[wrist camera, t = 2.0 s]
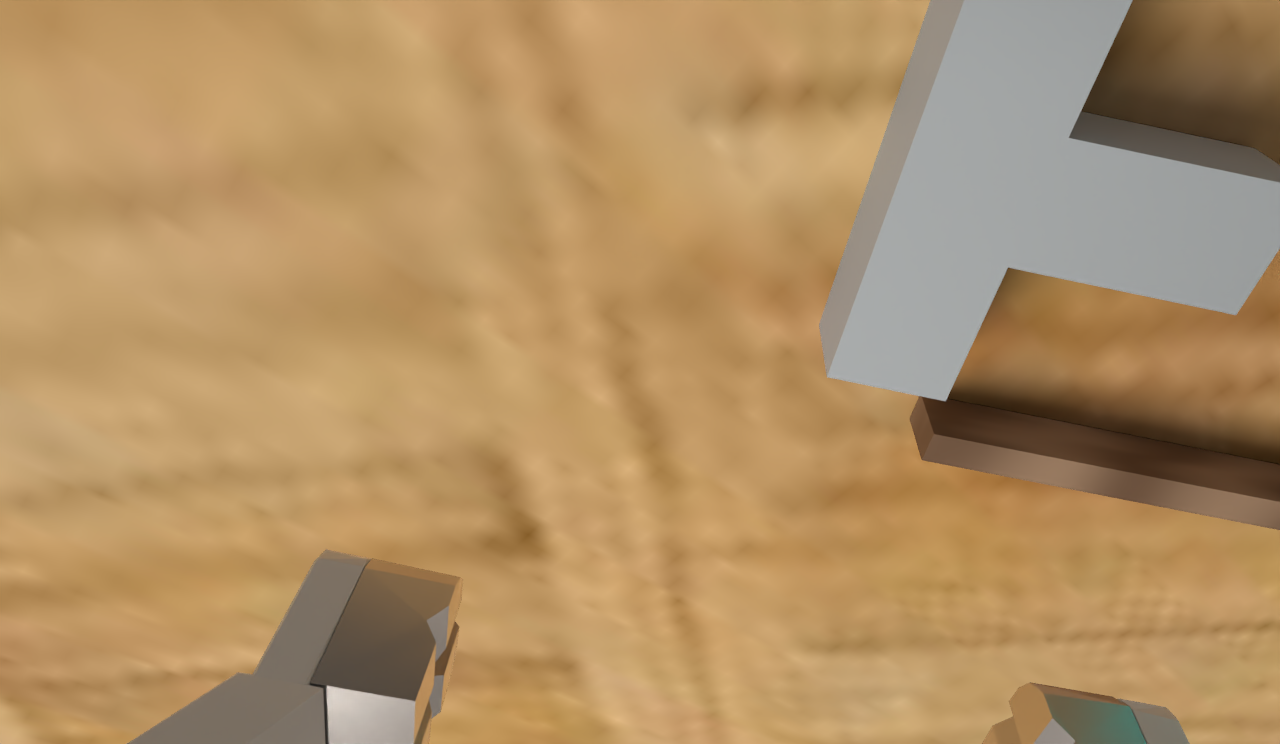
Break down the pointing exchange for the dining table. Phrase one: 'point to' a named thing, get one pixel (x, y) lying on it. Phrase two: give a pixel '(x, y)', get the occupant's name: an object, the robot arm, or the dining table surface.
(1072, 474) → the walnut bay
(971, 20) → the T-block
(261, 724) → the robot arm
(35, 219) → the dining table surface
